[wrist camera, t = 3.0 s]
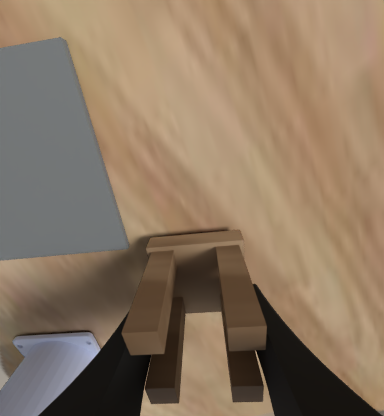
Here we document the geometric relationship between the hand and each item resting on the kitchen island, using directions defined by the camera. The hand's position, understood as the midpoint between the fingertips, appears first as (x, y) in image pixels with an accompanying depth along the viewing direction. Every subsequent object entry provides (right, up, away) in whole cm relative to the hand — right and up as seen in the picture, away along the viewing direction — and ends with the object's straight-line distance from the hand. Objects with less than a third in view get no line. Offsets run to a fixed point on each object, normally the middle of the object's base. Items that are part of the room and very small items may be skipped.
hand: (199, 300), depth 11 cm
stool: (0, +1, +2) cm, 3 cm away
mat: (-12, +8, +1) cm, 14 cm away
